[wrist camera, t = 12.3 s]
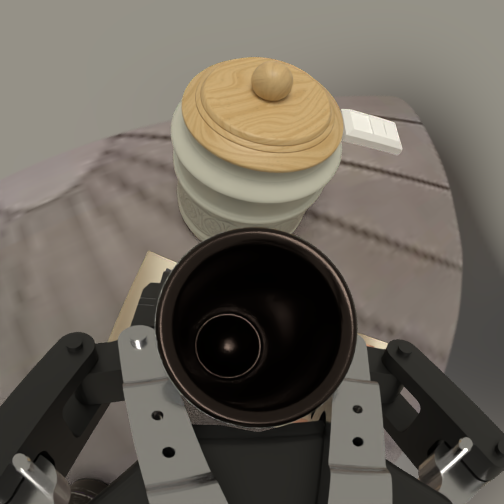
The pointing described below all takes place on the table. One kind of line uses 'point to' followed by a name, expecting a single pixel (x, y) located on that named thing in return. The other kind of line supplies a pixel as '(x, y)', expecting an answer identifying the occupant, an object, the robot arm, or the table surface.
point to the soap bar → (370, 131)
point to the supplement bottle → (85, 490)
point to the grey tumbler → (256, 327)
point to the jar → (253, 146)
